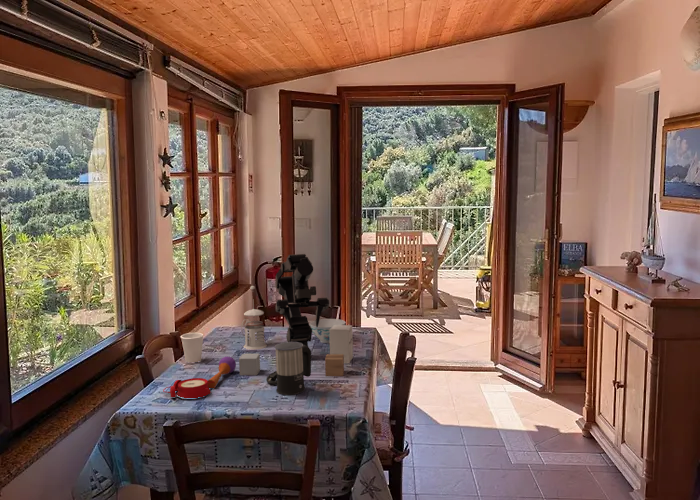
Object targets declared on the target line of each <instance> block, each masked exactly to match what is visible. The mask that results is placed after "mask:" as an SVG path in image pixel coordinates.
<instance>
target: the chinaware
mask: <svg viewBox="0 0 700 500" xmlns="http://www.w3.org/2000/svg"><path fill="white" fill-rule="evenodd" d="M308 323H309V326H311V329H312V334H313V336H314V337H315V338H317V339H318V340H319V342H320V343H323V344H330V331H329V330H330V329H331V328H332V327H333V326H334V325H346V321H345V320H343V319H341V318H340V319H336V318H321V319H319V324H318V327H316V319H315V320H313V321H310V322H308Z"/></svg>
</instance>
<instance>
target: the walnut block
mask: <svg viewBox="0 0 700 500" xmlns="http://www.w3.org/2000/svg"><path fill="white" fill-rule="evenodd" d="M324 365H325V367H324V369H325V377H343V376H344V374H345V363H344V354H330V353H329V354H326V355H325V358H324Z"/></svg>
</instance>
